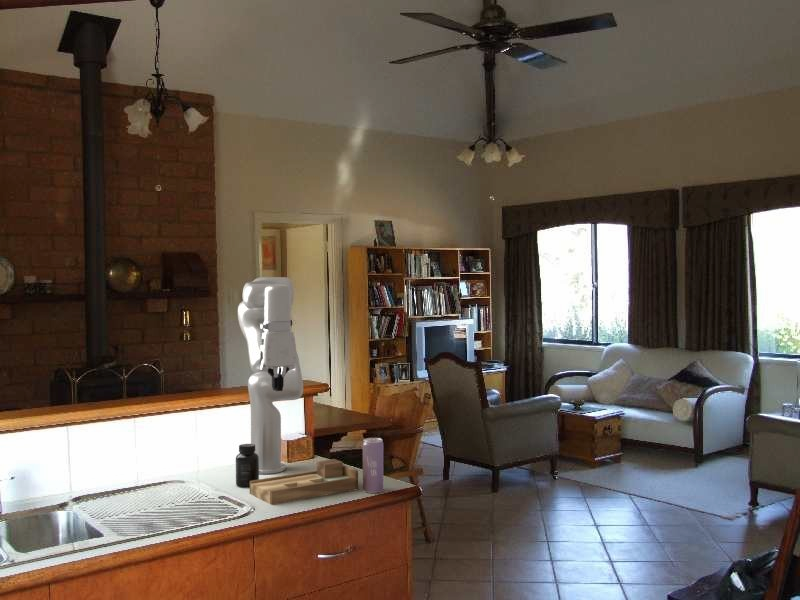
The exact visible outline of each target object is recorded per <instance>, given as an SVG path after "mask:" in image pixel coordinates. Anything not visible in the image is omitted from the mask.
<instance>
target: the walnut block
mask: <svg viewBox="0 0 800 600" xmlns="http://www.w3.org/2000/svg"><path fill="white" fill-rule="evenodd" d="M343 463H344V462H343V461H341V460H338V459H336V458H333V459H325V460H317V461H316V470H317V475H319V476H321V477H323V478H330V477H336V476H343V465H344V464H343Z"/></svg>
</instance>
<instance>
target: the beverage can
mask: <svg viewBox="0 0 800 600" xmlns="http://www.w3.org/2000/svg"><path fill="white" fill-rule="evenodd" d="M362 490H363V492H364V491H365V492H364V493H366V492H368V493H367V494H378V493H377V492H380V493H381V491H382V492H383V490H384V442H383V439H382V438H381V437H367V438H364V439H363V440H362Z"/></svg>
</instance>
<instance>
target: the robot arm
mask: <svg viewBox="0 0 800 600" xmlns="http://www.w3.org/2000/svg"><path fill="white" fill-rule="evenodd" d="M294 298H295V287H294V282H293V281H292V280H291V279H290V278H289V277H286V276H282V277H281V276H280V277H279V276H270V277H269V276H261V277H257V278H255V279H254V280H253V281H249V282H246V283H245V284H244V286H243V290H242V301H241V302H240V303H239V304H238V306H237V319H238V325H239V327H240V330H241V333H242V335H243V336H244V339H245V340H246V343H247V352H248V353H247V354H248V361H249V366H250V369H251V371H252V372H253V373H252V374H251V375H250V376H249V378H248V380H247V389H248V398H249V404H250V407H249V408H250V444H255V449H256V451H255V453H256V454H257V455H258V456H259V475H266V474H267V475H268V474H269V475H270V474H276V473H281V472H283V471H285V470H286V468H287V467H286V463H283V462H282V417H281V413H280V410H279V409H278V408H277V407H276V406H275V404H273V403H274V402H279V401H286V402H287V401H295V400H298V399H300V398H302V396H303V393H304V382H303V376H302V370H301V364H300V357H299V354H298V351H297V347H296V346H297V345H296V344H297V343H296V338H295V334H294V331H291V325H292V322H291V320H292V319H291V316H292V309H293V303H294Z"/></svg>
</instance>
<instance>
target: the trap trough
mask: <svg viewBox="0 0 800 600" xmlns="http://www.w3.org/2000/svg"><path fill="white" fill-rule="evenodd" d="M354 489H357V490H359V470H358V469H354V468H352V467H349V466H347V465H344V464H343V476H336V477H330V478H323V477H321V476H319V475H317V469H316V470H311V471H306V472H305V471H304V472H299V473H292V474H286V475H280V476H273V477H266V478H259V480H253V481H250V487H249V494H250V495H252V496H254V497H256V498H258V499H260V500H262V501H264V502H266V503H267V504H270V505H278V504H284V503H289V501H290V502H293V501H294V500H295V501H299V500H305V499H306V498H307V499H311V498H310V497H312V498H317V497H316V496H318V497H322V496H321V495H323V496H327V495H326V494H329V495H333V494H332V493H335V494H339V493H338V492H340V493H344V492H343V491H346V492H350V491H349V490H351V491H355V490H354ZM295 501H294V502H295Z"/></svg>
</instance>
